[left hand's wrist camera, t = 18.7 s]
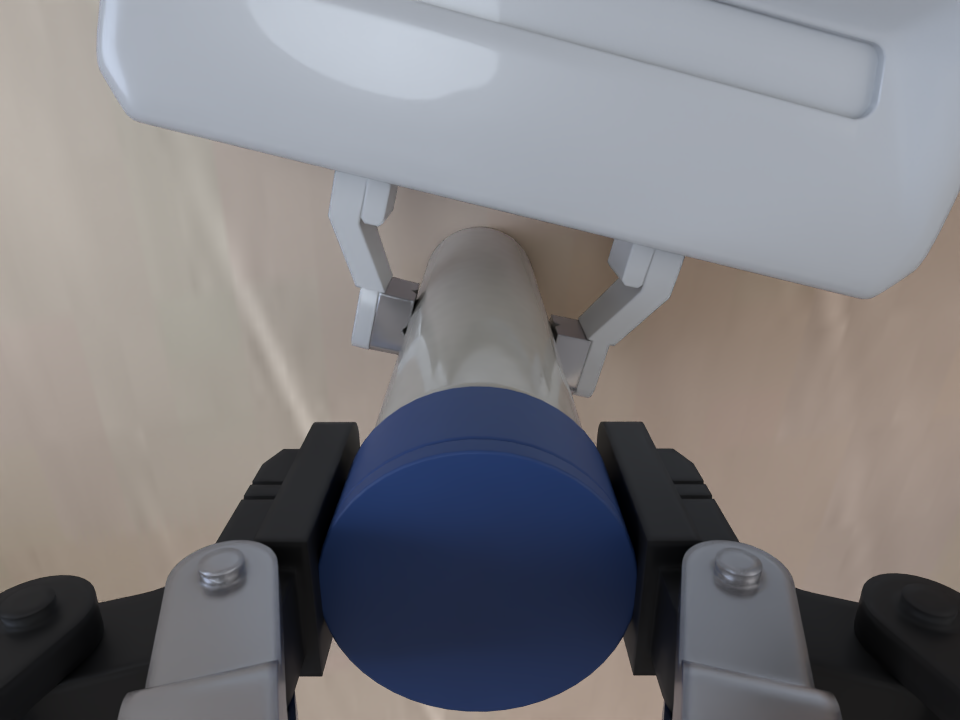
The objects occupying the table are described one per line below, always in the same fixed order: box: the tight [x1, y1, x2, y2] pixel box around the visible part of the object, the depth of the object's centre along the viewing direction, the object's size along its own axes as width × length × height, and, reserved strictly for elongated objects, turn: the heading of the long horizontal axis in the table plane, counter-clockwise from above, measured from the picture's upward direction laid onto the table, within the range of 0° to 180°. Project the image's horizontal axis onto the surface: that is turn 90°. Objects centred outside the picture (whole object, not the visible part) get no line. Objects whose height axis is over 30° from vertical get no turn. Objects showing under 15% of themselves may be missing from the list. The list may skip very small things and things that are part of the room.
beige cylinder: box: [375, 227, 582, 428], centre depth 17 cm, size 4×4×16 cm
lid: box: [318, 386, 637, 712], centre depth 10 cm, size 4×4×2 cm
